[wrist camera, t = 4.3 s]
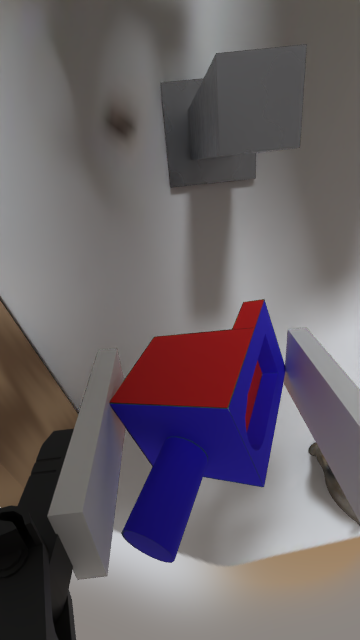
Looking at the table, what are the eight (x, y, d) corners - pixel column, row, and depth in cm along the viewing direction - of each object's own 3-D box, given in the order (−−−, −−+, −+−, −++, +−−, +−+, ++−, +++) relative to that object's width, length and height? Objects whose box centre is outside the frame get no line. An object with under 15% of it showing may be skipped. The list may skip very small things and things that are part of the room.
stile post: (160, 84, 17) (161, -9, 8) (254, 74, 17) (363, -29, 8) (170, 186, 19) (180, 206, 10) (253, 178, 19) (337, 190, 10)
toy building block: (171, 312, 14) (50, 486, 8) (265, 299, 12) (192, 523, 6) (199, 371, 16) (115, 551, 10) (286, 369, 13) (244, 598, 8)
